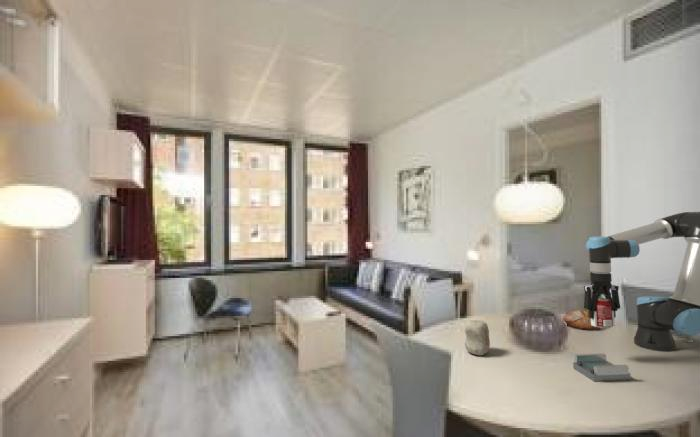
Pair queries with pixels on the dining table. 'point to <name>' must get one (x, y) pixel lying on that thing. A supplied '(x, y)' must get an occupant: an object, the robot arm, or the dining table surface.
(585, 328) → the bread
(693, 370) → the dining table surface
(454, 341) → the dining table surface
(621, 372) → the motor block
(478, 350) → the stone
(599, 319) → the soda can
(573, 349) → the dining table surface
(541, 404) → the dining table surface
